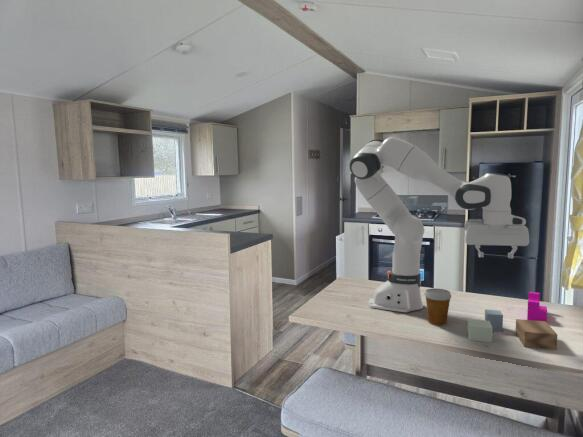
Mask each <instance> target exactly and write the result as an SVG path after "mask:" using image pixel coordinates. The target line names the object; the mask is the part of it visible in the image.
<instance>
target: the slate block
mask: <svg viewBox="0 0 583 437" xmlns="http://www.w3.org/2000/svg"><path fill="white" fill-rule="evenodd" d="M484 320H485V321H490V323H491V325H492V328H493V332H503V329H504V327H503V326H504V315H503V313H502V311H501V310H495V309H485V310H484Z"/></svg>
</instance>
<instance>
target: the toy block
mask: <svg viewBox="0 0 583 437" xmlns="http://www.w3.org/2000/svg"><path fill="white" fill-rule="evenodd" d="M540 294H541V293H540V292H534V291H528V299H527V314H526V315H527V316H526V317H527V319H526V320H534V321H546V322H547V323H548V308H547V306H545V305H540Z"/></svg>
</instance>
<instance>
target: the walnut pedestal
mask: <svg viewBox="0 0 583 437" xmlns="http://www.w3.org/2000/svg"><path fill="white" fill-rule="evenodd" d="M515 335H516V336H517V338H518V339H519V341H520V343H521V344H522V346H523V347H525V348H530V349H531V348H532V349H533V348H534V349H543V350H553V351H557V350H558V348H557V346H558V334H557V332H556V331H555V330H554V329H553V328H552V327H551V325H550V324H549V323H548V321H547V322H546V321H534V320H527V319H519V318H516V319H515Z"/></svg>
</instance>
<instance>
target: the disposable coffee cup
mask: <svg viewBox="0 0 583 437" xmlns="http://www.w3.org/2000/svg"><path fill="white" fill-rule="evenodd" d="M424 296H425V301H426V311H427V319H428V323H429V324H431V325H434V326H446V325H447V322H448V321H447V320H448V315H449V308H450V303H451V302H450V301H451V299H452V294H451V292H450V290H447V289H444V288H433V287H432V288H427V289H425V293H424Z"/></svg>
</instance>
